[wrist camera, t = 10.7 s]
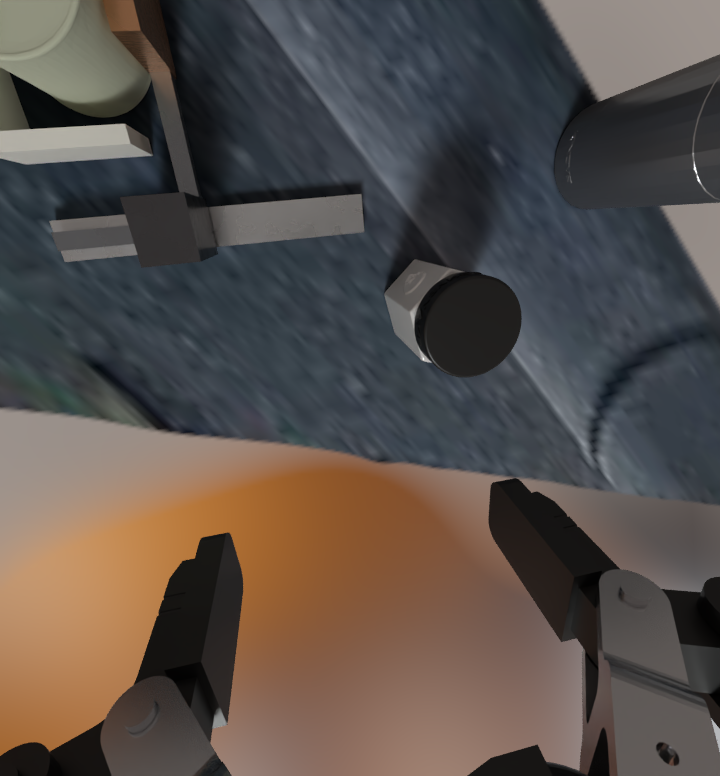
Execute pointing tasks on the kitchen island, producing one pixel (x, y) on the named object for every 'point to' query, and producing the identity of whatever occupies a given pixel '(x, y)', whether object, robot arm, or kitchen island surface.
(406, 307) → the jar
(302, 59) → the kitchen island surface
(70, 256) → the rail
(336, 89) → the kitchen island surface
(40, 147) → the frame
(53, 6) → the can
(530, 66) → the kitchen island surface
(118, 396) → the kitchen island surface
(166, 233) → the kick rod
